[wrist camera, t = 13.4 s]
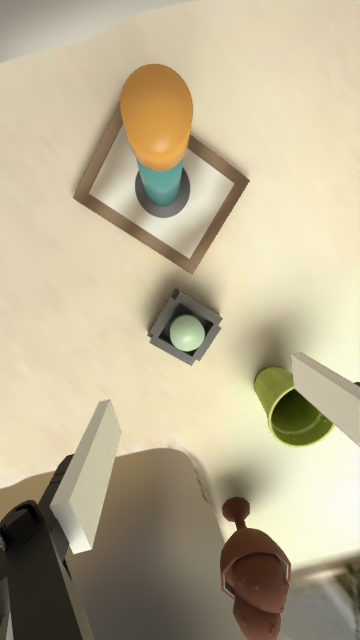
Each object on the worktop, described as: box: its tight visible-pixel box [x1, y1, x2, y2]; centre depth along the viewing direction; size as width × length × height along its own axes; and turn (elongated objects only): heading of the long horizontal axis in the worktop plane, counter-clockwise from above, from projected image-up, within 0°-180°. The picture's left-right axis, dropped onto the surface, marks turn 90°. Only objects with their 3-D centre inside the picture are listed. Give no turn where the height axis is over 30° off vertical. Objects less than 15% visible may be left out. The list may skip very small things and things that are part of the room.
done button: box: [170, 314, 205, 351], centre depth 28 cm, size 4×4×3 cm
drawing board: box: [73, 101, 250, 274], centre depth 27 cm, size 18×14×2 cm
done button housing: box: [147, 288, 223, 366], centre depth 30 cm, size 8×8×4 cm
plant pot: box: [254, 367, 335, 448], centre depth 31 cm, size 9×9×9 cm
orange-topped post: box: [120, 64, 193, 206], centre depth 20 cm, size 5×5×13 cm
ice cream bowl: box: [220, 497, 291, 640], centre depth 33 cm, size 11×11×15 cm
